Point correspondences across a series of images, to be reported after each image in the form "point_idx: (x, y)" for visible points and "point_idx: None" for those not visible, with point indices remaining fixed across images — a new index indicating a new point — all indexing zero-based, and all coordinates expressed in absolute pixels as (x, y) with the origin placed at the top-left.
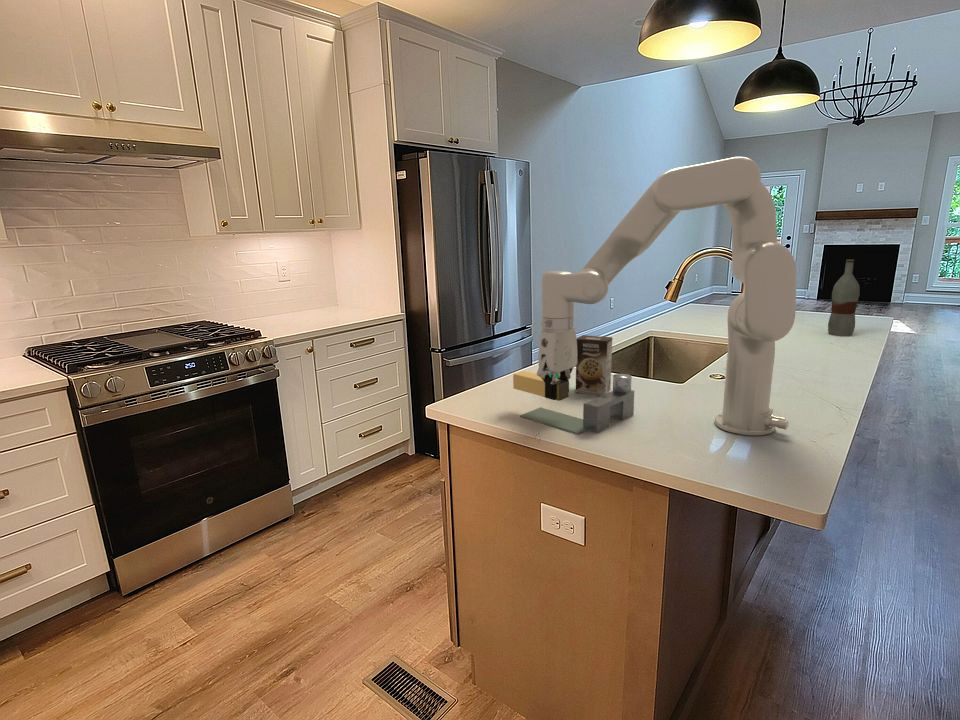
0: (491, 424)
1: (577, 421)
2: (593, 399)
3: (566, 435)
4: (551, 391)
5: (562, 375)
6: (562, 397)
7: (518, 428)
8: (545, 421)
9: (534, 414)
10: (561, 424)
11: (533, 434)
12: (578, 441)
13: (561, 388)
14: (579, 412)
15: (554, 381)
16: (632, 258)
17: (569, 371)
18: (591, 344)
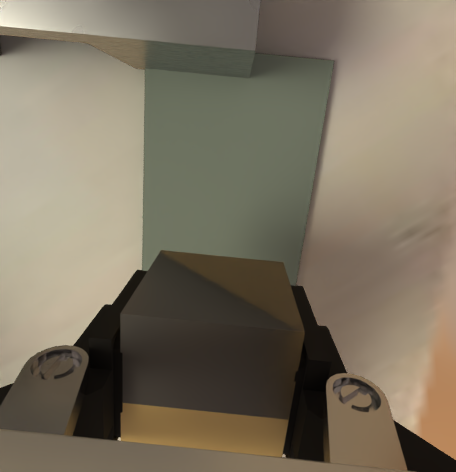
0: (411, 431)
1: (189, 153)
2: (110, 27)
3: (371, 107)
4: (327, 345)
5: (83, 435)
6: (239, 263)
7: (399, 332)
8: None
9: None
10: (273, 198)
11: (434, 245)
12: (418, 2)
13: (257, 302)
14: (59, 222)
15: (335, 398)
16: None
17: (4, 418)
18: None
